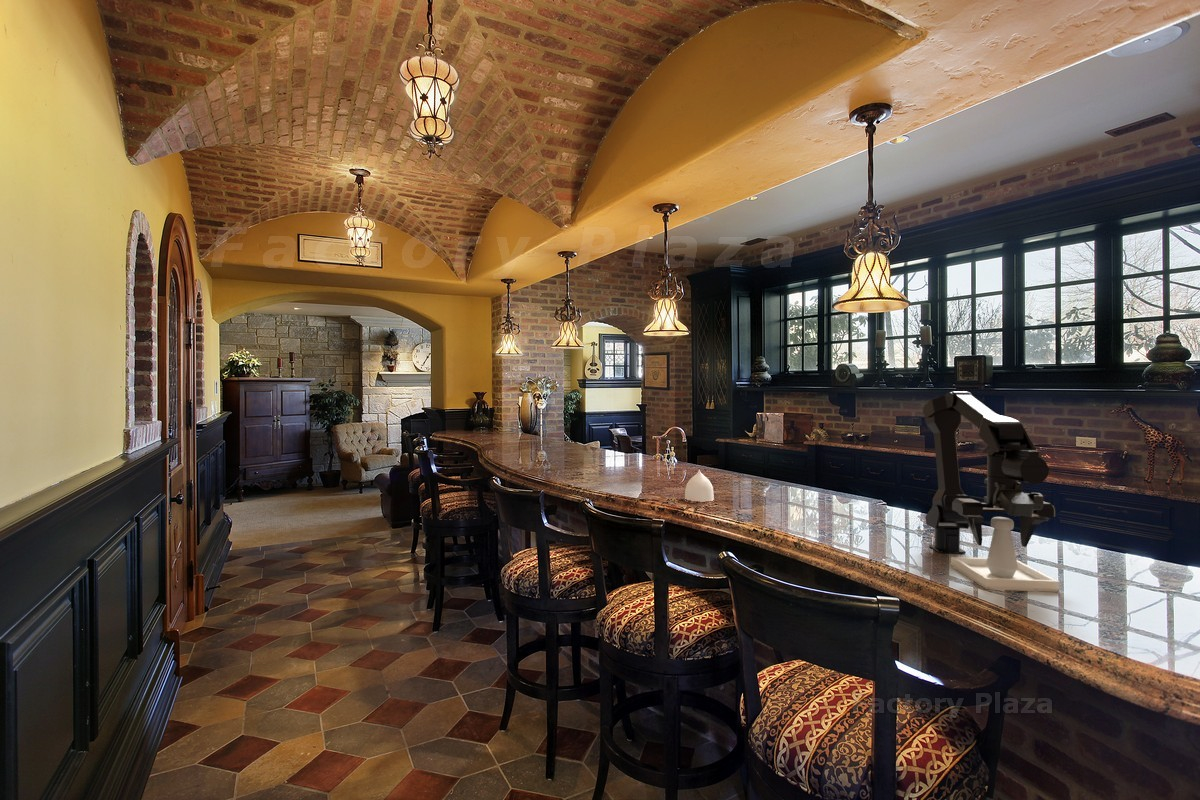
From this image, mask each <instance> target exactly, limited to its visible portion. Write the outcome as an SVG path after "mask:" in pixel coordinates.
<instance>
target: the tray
mask: <svg viewBox="0 0 1200 800" xmlns="http://www.w3.org/2000/svg"><path fill="white" fill-rule="evenodd" d="M987 558H988V557H963V556H960V557H959V556H951V559H950V560H951V561H950V562H951V565H950V566H951V567H952V568H953V569H955V570H957V571H958V572H959V573H962V574H963V575H964V576H966V578H969V579H970V580H971V581H973V582H975V583H976V584H978V585H979V586H980V587H982V588H984V589H986V590H995V591H997V590H999V591H1020V592H1021V591H1022V592H1023V591H1024V592H1050V593H1060V581H1059V580H1056V579H1055V578H1053V577H1051V576H1049V575H1047V574H1045V573H1043V572H1041V571H1039V570H1038V569H1035V568H1033V567H1032V566H1029V565H1028V564H1027V563H1024V562H1023V561H1020V560H1018V559H1016V560H1017V565H1018V568H1017V571H1016V572H1015V574H1014V576H1013V577H1012V578H999V577H996V576H992V574H991V572H990V570H989V569H988V567H987V564H986V562H987Z"/></svg>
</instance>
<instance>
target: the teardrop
mask: <svg viewBox="0 0 1200 800" xmlns="http://www.w3.org/2000/svg"><path fill="white" fill-rule="evenodd" d="M685 499H687V500H691V501H700V502H705V501H713V500H714V501H715V496H714V487H713V485H712V483H711V481H710V479H709V478H707V476H705V474H703V473H702V472H701V470H700V469H698V471H697V473H696V474H694V475H693V476H691V478H690V479H689V480H688V482H687V484H686V485H685V492H684V500H685ZM714 501H713V502H714Z"/></svg>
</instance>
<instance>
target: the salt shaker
mask: <svg viewBox="0 0 1200 800" xmlns="http://www.w3.org/2000/svg"><path fill="white" fill-rule="evenodd" d="M990 526H991V528H993V531H992V535H991V536H992V537H991V541H990V544H989V551H988V554H987V557H986V558H987V562H986V564H987V567H988V569H989V570H990V572H991V574H992V576H996V577H999V578H1012V577H1013V576H1014V574H1015V572H1016V571H1017V568H1018V565H1017V560H1018V559H1017V556H1016V549H1015V546H1014V541H1013V540H1014V539H1013V536H1012V530H1013V529H1014V528H1015V522H1014V520H1013V519H1012V518H1009V517H1005V516H993V517H992V518H991V520H990Z"/></svg>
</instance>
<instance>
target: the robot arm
mask: <svg viewBox="0 0 1200 800" xmlns="http://www.w3.org/2000/svg"><path fill="white" fill-rule="evenodd" d="M922 414H923V416H924V420H925V424H926V426H927V428H929V430H930V431H931V432H932V433H933V440H934V451H935V463H936V473H937V485H938V489H937V490H936V492H935V494H934V496H933V498H932V506H931V507H930V509H929V511H928V512H927V514H926V515H925V524H926V525H927V526H929V527H931V528H933V529H934V543H931V544H930V543H929V544H928V546H929V547H930V548H931V549H932V550H934V551H936V552H937V553H941V554H966V553H967V552H966V550H964V549H962V548H961V546H960V545H961V529H967V530H968V529H969V528H970V531H971V532H972V535H973V538H974V539H975V541H976V545H977V546H980V547H981V546H982V545H983V526H982V523H983V520H984V519H985V517H984V516H981V515H982V514H983V513H984V512H997V513H998V512H1000V513H1001V512H1005V513H1006V514H1007V515H1008V516H1009V517H1010V516H1011V517H1019V532H1020V542H1021V543H1020V544H1021V546H1022V547H1024V548H1026V547H1027V546H1028V545H1029V542H1030V540H1031V539H1032V536H1033V534H1034V532H1035V530H1036V528H1037V527H1038V525H1040V524H1041V523H1043V522H1048V521H1049V518H1055V517H1056V508H1055V506H1054V505H1053V504H1052V503H1050V502H1046V501H1044V496H1043V494H1042V493H1040V492H1029V493H1026V492H1024V490H1023V484H1022V482H1023V483H1027V484H1031V485H1038V484H1041V483H1043V482H1044V481H1045V480H1046V479H1047V478H1048V475H1049V473H1050V468H1049V466H1048V463H1047V462H1046V461H1045V460H1044V459H1043V458H1041V457H1040V454H1039V453H1040V452H1039V451H1038V450H1035V448H1034V445H1035V444H1034V442H1033V441H1032V440H1031V439H1030V436H1029V435H1028V433H1027V430H1026V428H1025V426H1024V425H1023V423H1022V422H1021V421H1019V420H1017V419H1015V418H1013V417H1009V416H1005V415H1002V414H1001V415H1000V414H998V413H996V412H995V411H993V410H992V409H990V408H989V407H988V406H986V405H985V404H984V403H983V402H981V401H980V400H978V399H977V398H976V397H975V396H974V395H973V394H972V393H971V392H969V391H965V390H963V391H955V390H954V391H950V392H947V393H945V394H944V395H942V396H939V397H935V398H932V399H930V400H928V401H927V403H925V404H924V406H923V408H922ZM962 416H963V417H964V418H965V419H967V420H968V421H969V422H970V423H971V424H972V425H974V426H975V427H976V428H977V429H978V435H977V436H979V438H980V439H981V440H982V441H983V442H984V444H986V445H987V447H985V448H984V449H983V450H982V451H981V453H982V454H983V455H986V456H987V457H986V458H987V461H986V462H987V464H986V465H987V468H986V470H987V471H986V474H987V475H986V478H983V479H984V480H983V482H984V484H986V496H983V501H984V502H980V501H978V500H976V499H973V498H971V497H970V495H969V494H965V492H964V491H963V490H962V488H961V479H960V472H959V471H960V470H959V469H960V468H959V460H958V458H959V457H958V448H957V438H956V432H957V430H958V428H959V427H960V425H961V424H962Z"/></svg>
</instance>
